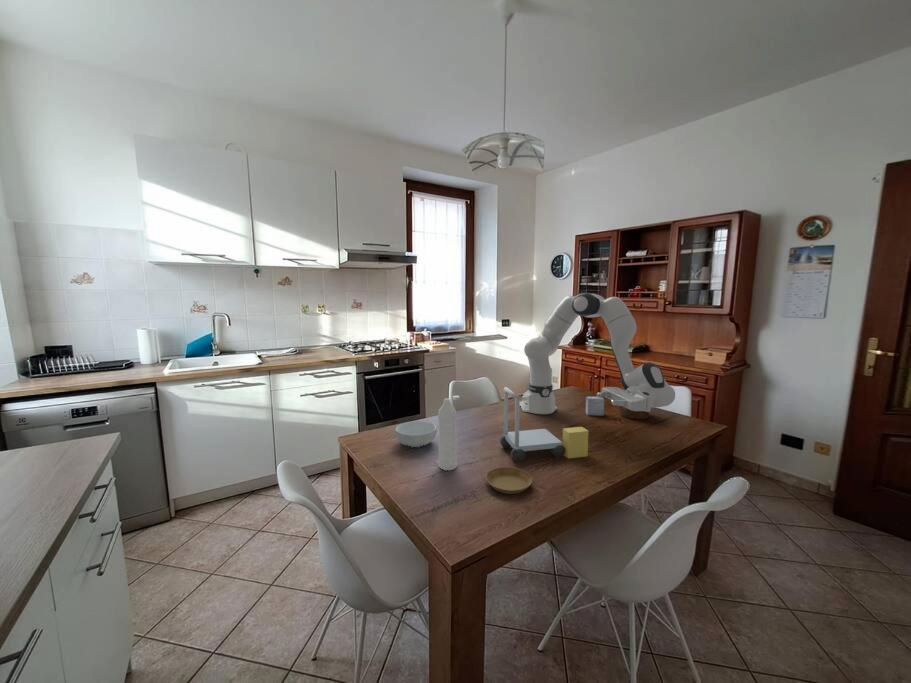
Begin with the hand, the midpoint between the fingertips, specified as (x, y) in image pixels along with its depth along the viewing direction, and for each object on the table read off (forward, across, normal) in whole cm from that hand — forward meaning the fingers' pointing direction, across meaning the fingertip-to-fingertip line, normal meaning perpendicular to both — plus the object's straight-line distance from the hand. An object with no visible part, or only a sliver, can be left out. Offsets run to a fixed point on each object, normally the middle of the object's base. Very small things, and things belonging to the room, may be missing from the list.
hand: (604, 398), depth 142 cm
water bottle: (+62, +3, +21) cm, 66 cm away
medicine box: (-20, -36, +21) cm, 46 cm away
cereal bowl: (+72, -19, +22) cm, 78 cm away
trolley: (+29, -1, +21) cm, 36 cm away
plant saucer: (+46, +20, +21) cm, 54 cm away
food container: (-38, -30, +20) cm, 52 cm away
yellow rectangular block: (+14, +5, +20) cm, 25 cm away
